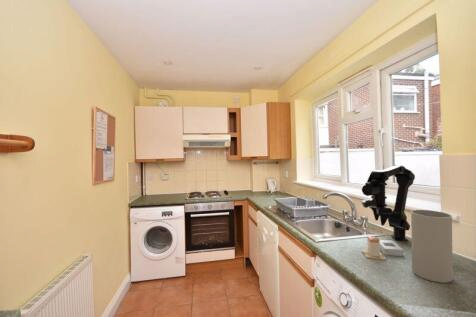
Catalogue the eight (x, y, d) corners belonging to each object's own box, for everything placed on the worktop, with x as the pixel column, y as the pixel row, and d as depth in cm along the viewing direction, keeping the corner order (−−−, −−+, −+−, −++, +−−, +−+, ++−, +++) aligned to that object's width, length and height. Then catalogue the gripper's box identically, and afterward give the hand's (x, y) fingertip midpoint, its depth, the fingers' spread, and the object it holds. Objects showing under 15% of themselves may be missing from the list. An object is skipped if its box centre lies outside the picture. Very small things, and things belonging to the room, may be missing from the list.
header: (376, 245, 122) (376, 239, 122) (393, 246, 120) (393, 240, 120) (384, 254, 111) (384, 248, 111) (403, 256, 109) (403, 249, 109)
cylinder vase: (442, 270, 95) (442, 210, 95) (460, 286, 84) (459, 218, 83) (407, 265, 100) (406, 209, 99) (419, 280, 88) (418, 216, 87)
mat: (362, 251, 115) (362, 250, 115) (379, 252, 113) (379, 251, 113) (366, 258, 107) (366, 257, 107) (385, 259, 105) (385, 258, 105)
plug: (367, 252, 113) (367, 236, 112) (376, 253, 112) (376, 236, 112) (370, 255, 109) (370, 239, 109) (379, 256, 108) (379, 239, 108)
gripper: (358, 191, 133) (358, 217, 134) (367, 196, 115) (368, 227, 116) (379, 191, 131) (379, 218, 131) (392, 197, 113) (393, 228, 113)
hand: (379, 222), depth 123 cm, fingers open, 9 cm apart
